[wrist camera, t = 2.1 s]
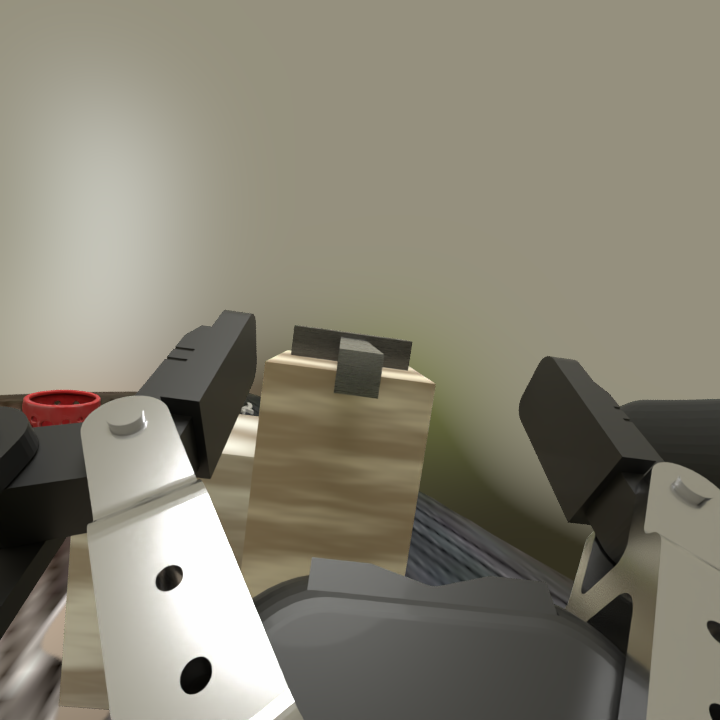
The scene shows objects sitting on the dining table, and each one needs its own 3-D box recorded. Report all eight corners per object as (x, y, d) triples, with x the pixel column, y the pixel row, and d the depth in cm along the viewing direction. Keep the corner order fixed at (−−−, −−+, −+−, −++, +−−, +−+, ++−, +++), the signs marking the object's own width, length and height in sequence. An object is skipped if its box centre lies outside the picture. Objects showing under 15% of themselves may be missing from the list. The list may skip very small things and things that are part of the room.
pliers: (249, 400, 143) (262, 410, 130) (249, 404, 143) (262, 415, 130) (223, 400, 137) (234, 411, 125) (222, 404, 137) (233, 415, 125)
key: (460, 409, 21) (469, 357, 20) (247, 381, 20) (253, 327, 20) (403, 367, 41) (407, 340, 40) (294, 352, 40) (298, 325, 40)
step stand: (379, 729, 33) (435, 384, 30) (59, 705, 32) (84, 337, 29) (370, 622, 45) (409, 366, 42) (136, 600, 43) (160, 333, 41)
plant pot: (1, 454, 74) (4, 397, 73) (59, 436, 87) (62, 386, 86) (61, 465, 74) (65, 407, 72) (111, 444, 87) (115, 395, 85)
